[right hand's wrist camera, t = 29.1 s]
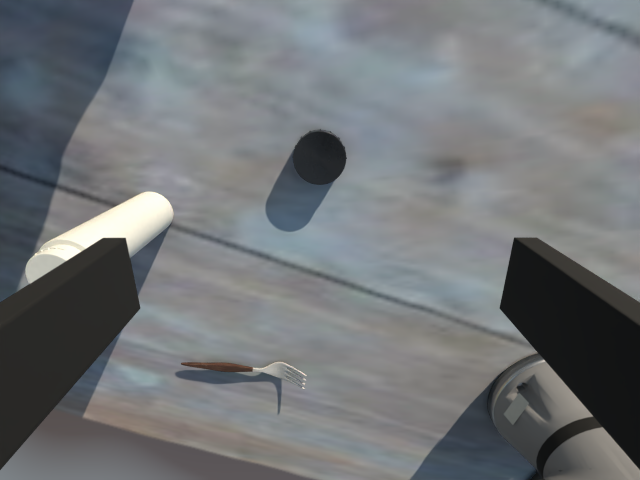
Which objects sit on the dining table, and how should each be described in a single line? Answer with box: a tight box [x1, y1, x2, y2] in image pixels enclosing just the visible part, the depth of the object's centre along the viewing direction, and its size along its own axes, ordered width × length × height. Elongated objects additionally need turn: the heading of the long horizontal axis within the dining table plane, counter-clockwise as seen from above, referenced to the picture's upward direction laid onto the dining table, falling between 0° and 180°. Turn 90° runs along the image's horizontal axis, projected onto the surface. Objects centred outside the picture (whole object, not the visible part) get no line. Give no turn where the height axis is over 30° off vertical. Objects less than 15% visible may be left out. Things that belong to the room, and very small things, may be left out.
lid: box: [293, 129, 347, 185], centre depth 36 cm, size 5×5×2 cm
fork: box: [181, 362, 306, 389], centre depth 46 cm, size 3×16×2 cm, turn 84°
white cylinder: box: [25, 192, 173, 284], centre depth 32 cm, size 4×4×16 cm
